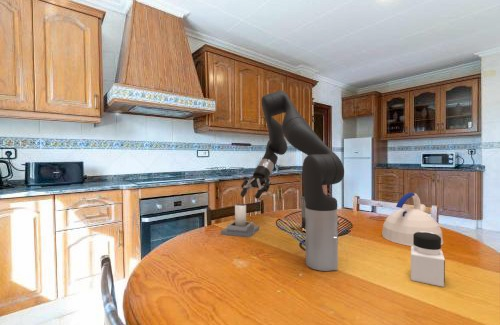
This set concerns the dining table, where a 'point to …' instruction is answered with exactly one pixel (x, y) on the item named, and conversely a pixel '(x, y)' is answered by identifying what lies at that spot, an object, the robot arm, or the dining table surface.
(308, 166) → the robot arm
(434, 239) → the medicine bottle
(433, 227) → the kettle
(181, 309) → the dining table surface
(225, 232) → the hub plate
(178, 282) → the dining table surface
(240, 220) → the pale grey canister
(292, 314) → the dining table surface
